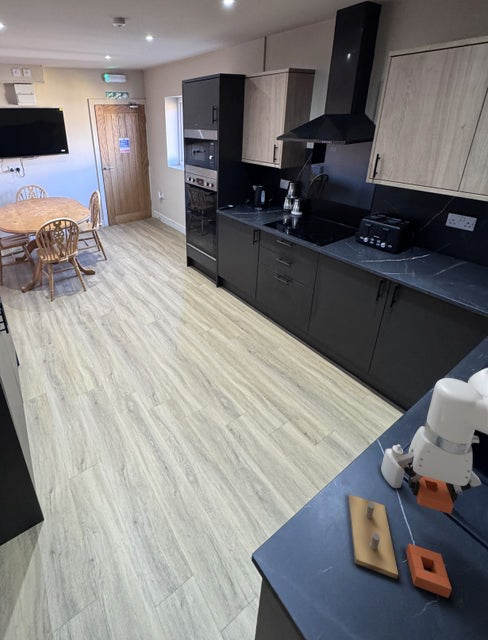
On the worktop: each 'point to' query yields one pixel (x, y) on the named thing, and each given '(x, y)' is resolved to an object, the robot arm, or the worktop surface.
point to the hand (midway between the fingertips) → (430, 493)
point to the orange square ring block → (425, 579)
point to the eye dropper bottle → (393, 466)
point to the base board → (371, 536)
